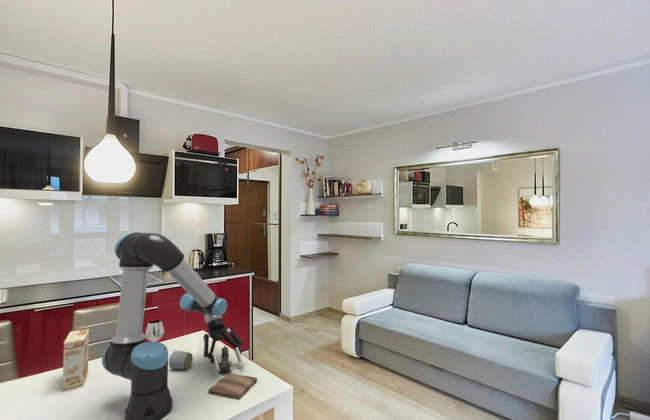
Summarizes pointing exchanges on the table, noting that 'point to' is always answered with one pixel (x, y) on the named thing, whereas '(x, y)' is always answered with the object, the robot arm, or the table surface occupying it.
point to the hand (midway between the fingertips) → (229, 365)
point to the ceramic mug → (180, 360)
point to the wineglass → (154, 330)
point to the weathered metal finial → (224, 362)
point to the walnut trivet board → (233, 386)
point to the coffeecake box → (75, 359)
